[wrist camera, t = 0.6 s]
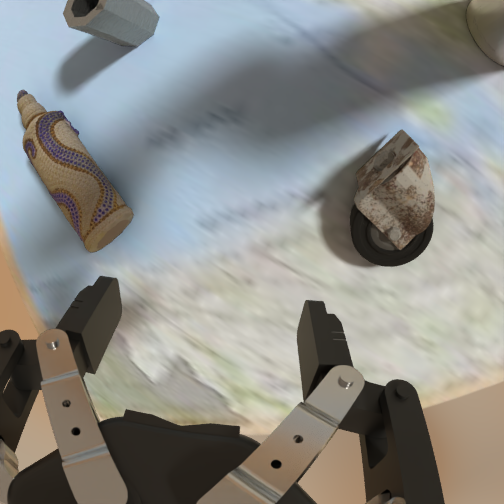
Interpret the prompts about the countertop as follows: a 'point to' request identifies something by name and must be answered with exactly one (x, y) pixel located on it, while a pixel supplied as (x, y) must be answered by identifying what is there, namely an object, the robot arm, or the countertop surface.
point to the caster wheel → (393, 204)
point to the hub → (113, 19)
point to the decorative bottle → (72, 175)
